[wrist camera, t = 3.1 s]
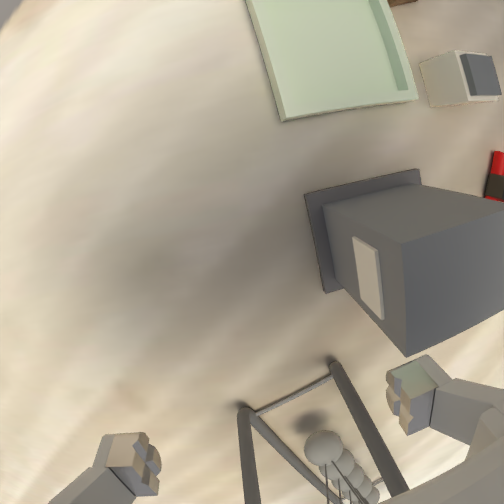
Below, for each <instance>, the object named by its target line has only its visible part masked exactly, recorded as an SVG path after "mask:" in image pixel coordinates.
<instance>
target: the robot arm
mask: <svg viewBox="0 0 504 504" xmlns="http://www.w3.org/2000/svg"><path fill="white" fill-rule="evenodd" d="M386 381H387V383H388V384H389V386H388V388H387V389H386V398H387V402H388V405H389V407H390V410H391V411H392V413H393V414H394V415H396V416H399V424H400V426H401V427H402V429H403V430H404V432H405V433H406V435H407V436H408V435H411V434H413V433H415V432H418V431H420V430H422V429H424V428H426V427H429V426H430V428H432V429H435V430H437V431H439V432H441V433H443V434H445V435H448V436H450V437H452V438H454V439H456V440H459V441H461V442H463V443H465V444H468V445H470V448H469V451H468V453H467V456H466V459H465V461H464V462H462V463H460V464H459V465H457V466H455V467H454V468H452V469H450V470H448V471H446V472H445V473H443V474H441V475H439V476H437V477H435V478H433V479H431V480H429V481H427V482H425V483H423V484H421V485H419V486H417V487H415V488H413V489H411V490H408V491H406V492H404V493H402V494H400V495H397V496H395V497H392V498H390V499H388V500H385V501H383V502H380V503H378V504H504V389H500V388H496V387H491V386H487V385H483V384H478V383H474V382H470V381H466V380H462V379H458V378H455V379H453V380H452V379H451V378H450V376H449V375H448V374H447V373H446V372H445V371H444V370H443V369H442V368H441V367H440V366H439V365H438V364H437V363H436V362H435V361H434V360H433V359H432V358H431V357H430V356H429V355H427V354H426V355H423V356H421V357H419V358H417V359H415V360H413V361H410V362H408V363H406V364H403V365H401V366H399V367H396V368H394V369H391V370H389V371H387V373H386ZM161 465H162V464H161V458H160V455H159V452H158V451H157V449H156V448H155V447H154V446H152V445H150V444H149V438H148V436H147V435H146V434H145V433H144V432H136V433H120V434H105V435H104V436H103V437H102V439H101V442H100V445H99V448H98V451H97V454H96V457H95V460H94V463H93V466H92V467H89V468H88V469H86V470H85V471H84V472H83V473H82V474H81V475H80V476H78V477H77V478H76V479H75V480H74V481H73V482H72V483H70V484H69V485H68V486H67V487H66V488H65V489H64V490H62V491H61V492H60V493H59V494H58V495H57V496H55V497H54V498H53V499H52V500H51V501H49V503H48V504H132V503H133V501H134V500H135V499H136V497H138V496H157V495H158V489H159V482H160V481H159V479H158V478H157V477H156V476H157V475H158V474H159V473H160V471H161Z"/></svg>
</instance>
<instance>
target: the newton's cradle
mask: <svg viewBox="0 0 504 504" xmlns="http://www.w3.org/2000/svg"><path fill="white" fill-rule="evenodd" d="M329 369H330V372H331V374H332V375H330V376H328V377H326V378H324V379H322V380H321V381H319V382H317V383H315V384H313V385H311V386H309V387H307V388H305V389H304V390H302V391H300V392H298V393H296V394H294V395H292V396H290V397H288V398H286V399H284V400H282V401H280V402H277V403H275V404H273V405H271V406H269V407H267V408H265V409H263V410H260V411H258V412H256V413H255V412H254V411H253V410H252V409H250V408H248V407H245V408H241V409H240V410H239V412H238V414H237V424H238V436H239V447H240V458H241V469H242V479H243V489H244V499H245V504H261V499H260V492H259V485H258V478H257V470H256V463H255V456H254V448H253V441H252V433H251V425H252V426H253V427H254V428H255V429H256V430H257V431H258V432H259V433H260V434H261V435H262V436H263V437H264V438H265V439H266V440H267V441H268V443H269V444H270V445H271V446H272V447H273V448H274V449H275V450H276V451H277V452H278V453H279V454H280V455H281V456H283V457H284V458H285V459H286V460H287V461H288V462H289V463H290V464H291V465H292V466H293V467H294V468H295V469H296V470H297V471H298V472H299V473H300V474H301V475H302V476H303V477H305V478H306V479H307V480H308V481H309V482H310V483H311V484H312V485H313V486H314V487H316V488H317V489H318V490H319V491H320V492H321V493H322V494H323V495H325V496H326V497H327V504H329V500H330V501H331V502H333V503H334V504H343V502H342V501H343V500H345V499H348V500H350V504H377V503H378V501H379V497H380V494H379V491H378V489H377V488H376V487H374V485H376V484H378V483H380V482H382V481H384V482H385V484H386V487H387V489H388V491H389V493H390V495H391V497H395V496H397V495H400V494H402V493H404V492H406V491H408V490H410V489H409V487H408V486H407V484H406V482H405V480H404V478H403V476H402V474H401V472H400V470H399V469H398V467H397V465H396V463H395V461H394V459H393V457H392V456H391V454H390V452H389V450H388V448H387V446H386V445H385V443H384V441H383V439H382V437H381V435H380V433H379V432H378V430H377V428H376V426H375V424H374V423H373V421H372V419H371V417H370V415H369V413H368V412H367V410H366V408H365V406H364V404H363V403H362V401H361V399H360V397H359V395H358V394H357V392H356V390H355V388H354V386H353V385H352V383H351V381H350V379H349V378H348V376H347V374H346V372H345V370H344V369H343V367H342V365H341V364H340V363H339V362H337V361H335V362H332V363H331V364H330V366H329ZM333 378H334V380H335V382H336V384H337V386H338V388H339V390H340V392H341V394H342V396H343V398H344V400H345V402H346V404H347V406H348V408H349V410H350V412H351V414H352V416H353V418H354V420H355V423H356V425H357V427H358V429H359V431H360V433H361V435H362V437H363V439H364V441H365V443H366V445H367V447H368V449H369V451H370V453H371V455H372V457H373V459H374V462H375V464H376V466H377V468H378V470H379V472H380V474H381V476H382V478H383V479H381V480H379V481H377V482H375V483H373V484H372V482H371V480H370V478H368V477H367V476H366V475H364V471H363V469H362V467H361V466H359V465H358V464H356V463H354V457H353V455H352V454H351V453H350V452H349V451H348V450H346V449H344V448H343V443H342V440H341V438H340V437H339V436H338V435H337V434H336V433H334V432H332V431H327V430H323V431H319V432H316V433H314V434H312V435H311V436H310V437H309V438H308V439H307V441H306V443H305V447H304V452H305V456H306V458H307V459H308V460H309V461H310V462H311V463H312V464H314V465H317V466H319V470H320V472H321V474H322V475H323V476H324V477H326V486H325V485H324V484H323V483H322V482H321V481H320V480H319V479H318V478H317V477H316V476H315V475H314V474H313V473H312V472H311V471H310V470H309V469H308V468H307V467H306V466H305V465H304V464H303V463H302V462H301V461H300V460H299V459H298V458H297V457H296V456H295V455H294V454H293V453H292V452H291V451H290V450H289V448H288V447H287V446H286V445H285V444H284V443H283V442H282V441H281V440H280V439H279V438H278V437H277V436H276V435H275V434H274V433H273V431H272V430H271V429H270V428H269V427H268V426H267V425H266V424H265V423H264V422H263V420H262V419H261V418H260V417H259V415H261V414H263V413H265V412H268V411H270V410H272V409H274V408H276V407H278V406H280V405H282V404H284V403H287V402H289V401H291V400H293V399H295V398H297V397H299V396H301V395H303V394H304V393H306V392H308V391H310V390H312V389H314V388H316V387H318V386H320V385H322V384H323V383H325V382H327V381H329V380H331V379H333ZM250 424H251V425H250ZM327 479H330V480H331V481H332V484H333V486H334V487H335V488H336V489H338V490H339V496H340V499H339V498H338V497H337V496H336V495H335V494H334V493H333V492H332V491H331V490H330V489H329V488H328V480H327ZM341 491H342V494H343V495H344V498H342V499H341Z"/></svg>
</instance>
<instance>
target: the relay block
mask: <svg viewBox="0 0 504 504" xmlns="http://www.w3.org/2000/svg"><path fill="white" fill-rule="evenodd" d="M419 67H420V70H421V74H422V77H423V81H424V84H425V88H426V92H427V96H428V100H429V104H430V107H441V106H456V105H466V104H474V103H482V102H491V101H499V98H498V95H502V94H501V89H500V85H499V81H498V78H497V74H496V70H495V67H494V63H493V60H492V57H491V56H487V54H485V53H477V52H468V51H457V50H454V51H451V52H448V53H446V54H443V55H440V56H437V57H435V58H432V59H430V60H427V61H425V62H422V63H419Z"/></svg>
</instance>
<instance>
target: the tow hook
mask: <svg viewBox="0 0 504 504" xmlns="http://www.w3.org/2000/svg"><path fill="white" fill-rule="evenodd" d="M485 198H486V199H490V200H494V201H500V202H504V153H503V152H500V151H494V157H493V163H492V168H491V173H490V174H489V178H488V183H487V187H486V192H485Z"/></svg>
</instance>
